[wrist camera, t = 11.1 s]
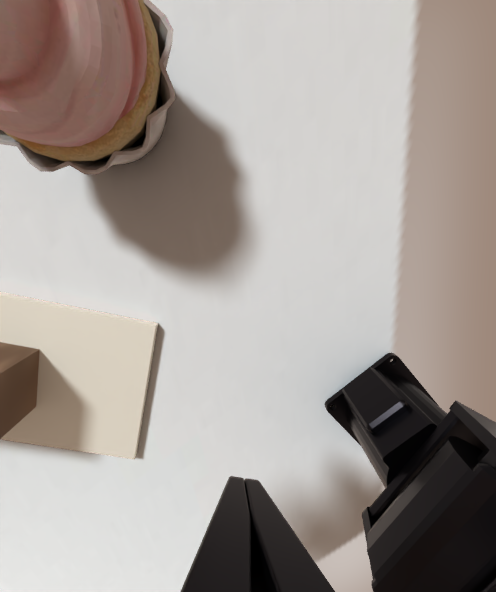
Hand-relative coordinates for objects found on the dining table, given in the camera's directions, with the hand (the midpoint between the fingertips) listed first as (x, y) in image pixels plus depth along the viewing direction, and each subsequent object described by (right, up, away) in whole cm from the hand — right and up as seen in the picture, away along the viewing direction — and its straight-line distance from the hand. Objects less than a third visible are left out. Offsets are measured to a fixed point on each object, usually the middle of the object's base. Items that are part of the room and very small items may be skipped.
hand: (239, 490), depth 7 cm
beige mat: (-16, 0, +12) cm, 20 cm away
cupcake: (-8, +16, +8) cm, 20 cm away
